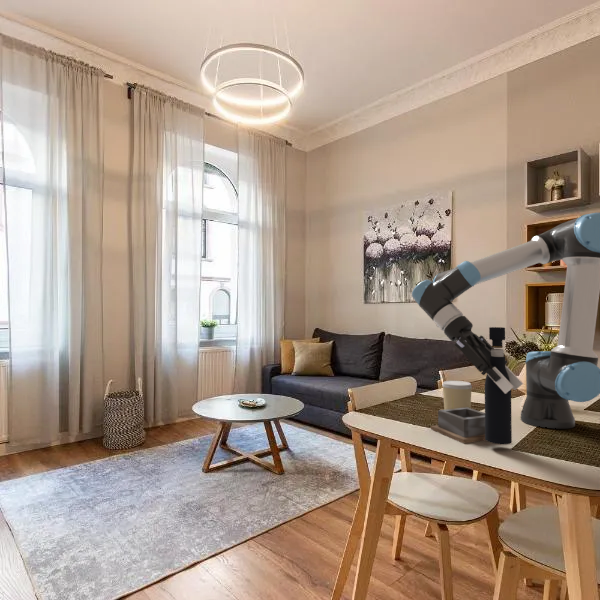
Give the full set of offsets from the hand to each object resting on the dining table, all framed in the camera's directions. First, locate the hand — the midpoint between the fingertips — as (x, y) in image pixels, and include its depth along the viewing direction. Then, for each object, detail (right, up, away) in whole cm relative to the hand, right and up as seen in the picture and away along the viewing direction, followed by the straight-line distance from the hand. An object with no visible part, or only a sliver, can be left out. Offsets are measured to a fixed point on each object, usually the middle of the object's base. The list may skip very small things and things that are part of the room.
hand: (514, 388), depth 108 cm
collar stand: (-6, -17, +16) cm, 24 cm away
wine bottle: (-3, -15, +3) cm, 15 cm away
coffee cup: (-3, -17, +32) cm, 37 cm away
